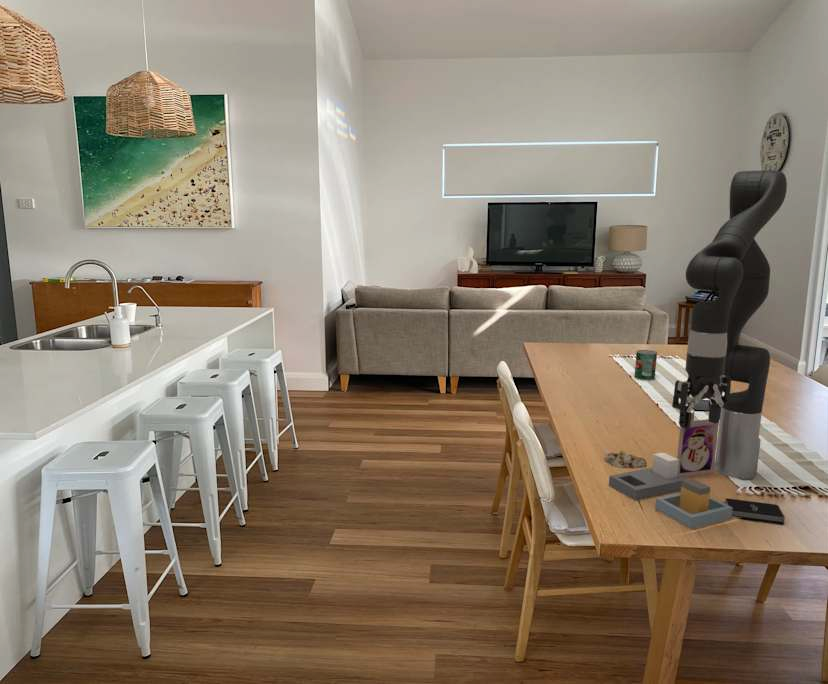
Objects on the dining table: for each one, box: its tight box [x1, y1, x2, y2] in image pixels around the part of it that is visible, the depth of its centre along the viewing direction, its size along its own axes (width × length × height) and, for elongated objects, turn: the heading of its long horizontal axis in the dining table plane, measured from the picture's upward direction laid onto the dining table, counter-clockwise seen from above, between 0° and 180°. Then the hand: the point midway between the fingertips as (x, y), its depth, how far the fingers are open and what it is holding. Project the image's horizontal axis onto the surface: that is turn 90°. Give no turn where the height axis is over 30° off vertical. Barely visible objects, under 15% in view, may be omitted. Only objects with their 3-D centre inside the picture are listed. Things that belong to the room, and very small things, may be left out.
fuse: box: [652, 452, 679, 480], centre depth 156 cm, size 3×5×7 cm, turn 24°
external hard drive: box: [723, 497, 786, 526], centre depth 142 cm, size 7×11×2 cm, turn 73°
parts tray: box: [654, 492, 733, 531], centre depth 141 cm, size 12×10×3 cm
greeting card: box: [676, 411, 719, 477], centre depth 164 cm, size 11×7×15 cm, turn 106°
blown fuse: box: [679, 478, 711, 515], centre depth 141 cm, size 3×5×7 cm, turn 25°
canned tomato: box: [634, 349, 658, 382], centre depth 259 cm, size 8×8×11 cm
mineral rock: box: [604, 450, 648, 469], centre depth 170 cm, size 11×4×8 cm
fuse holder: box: [608, 466, 687, 501], centre depth 155 cm, size 16×9×3 cm, turn 114°
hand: (699, 425), depth 139 cm, fingers open, 8 cm apart
